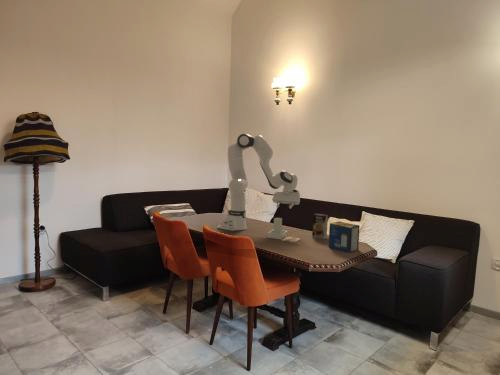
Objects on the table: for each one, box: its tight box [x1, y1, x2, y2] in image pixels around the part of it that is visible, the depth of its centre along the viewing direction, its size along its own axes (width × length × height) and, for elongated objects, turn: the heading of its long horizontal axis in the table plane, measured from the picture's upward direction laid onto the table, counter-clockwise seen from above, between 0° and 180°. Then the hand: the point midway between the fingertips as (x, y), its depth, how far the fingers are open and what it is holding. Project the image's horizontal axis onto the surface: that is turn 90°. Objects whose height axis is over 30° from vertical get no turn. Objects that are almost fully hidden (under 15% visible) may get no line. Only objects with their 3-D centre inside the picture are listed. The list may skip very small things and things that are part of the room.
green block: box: [273, 217, 283, 234], centre depth 254 cm, size 4×4×13 cm
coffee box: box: [311, 213, 329, 239], centre depth 256 cm, size 9×6×16 cm
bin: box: [266, 228, 289, 240], centre depth 254 cm, size 11×12×4 cm
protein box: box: [328, 221, 361, 253], centre depth 227 cm, size 10×15×16 cm
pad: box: [281, 236, 301, 244], centre depth 245 cm, size 10×10×1 cm
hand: (283, 207), depth 263 cm, fingers open, 8 cm apart
